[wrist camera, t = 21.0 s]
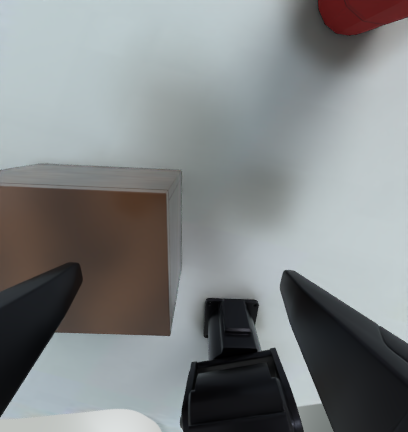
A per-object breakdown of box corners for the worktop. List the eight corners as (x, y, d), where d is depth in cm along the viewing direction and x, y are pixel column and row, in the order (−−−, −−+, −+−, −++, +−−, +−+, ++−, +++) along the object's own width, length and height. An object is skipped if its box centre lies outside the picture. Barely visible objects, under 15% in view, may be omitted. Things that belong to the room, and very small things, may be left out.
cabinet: (65, 264, 23) (-7, 330, 15) (39, 163, 19) (-79, 182, 11) (181, 269, 23) (170, 336, 15) (181, 169, 19) (166, 193, 11)
